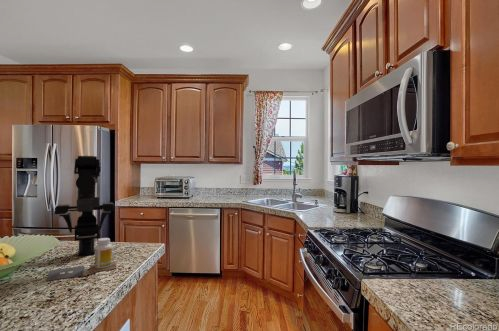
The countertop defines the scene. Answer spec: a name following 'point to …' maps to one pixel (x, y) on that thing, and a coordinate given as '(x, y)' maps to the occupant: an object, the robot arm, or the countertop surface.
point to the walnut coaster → (93, 269)
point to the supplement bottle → (103, 253)
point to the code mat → (65, 273)
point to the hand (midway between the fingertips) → (85, 231)
